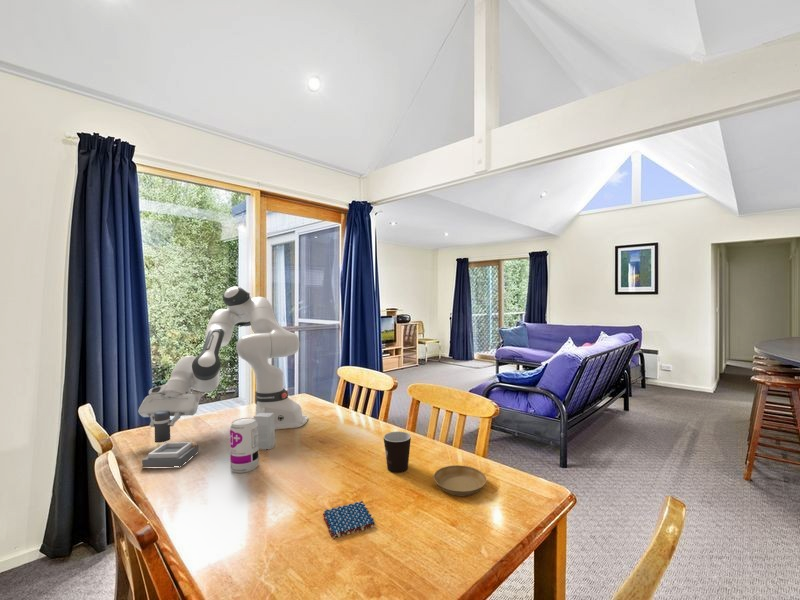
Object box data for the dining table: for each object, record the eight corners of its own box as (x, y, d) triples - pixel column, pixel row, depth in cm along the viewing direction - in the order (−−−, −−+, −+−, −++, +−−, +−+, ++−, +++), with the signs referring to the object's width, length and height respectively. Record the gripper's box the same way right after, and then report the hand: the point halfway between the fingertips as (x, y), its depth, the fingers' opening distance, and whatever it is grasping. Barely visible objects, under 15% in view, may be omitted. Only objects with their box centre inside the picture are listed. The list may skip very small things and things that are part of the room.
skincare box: (275, 445, 137) (274, 412, 136) (270, 450, 132) (269, 416, 132) (259, 444, 137) (258, 412, 137) (253, 449, 133) (253, 416, 133)
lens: (173, 437, 139) (172, 410, 139) (165, 442, 134) (164, 414, 134) (159, 438, 139) (159, 410, 139) (151, 443, 134) (150, 414, 134)
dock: (198, 453, 131) (197, 440, 130) (180, 467, 120) (180, 454, 119) (163, 454, 130) (162, 441, 130) (142, 469, 119) (142, 455, 119)
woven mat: (321, 517, 92) (321, 509, 92) (362, 506, 97) (362, 499, 97) (331, 542, 83) (330, 533, 83) (376, 529, 87) (376, 521, 87)
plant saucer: (476, 506, 96) (475, 496, 96) (424, 491, 103) (424, 482, 103) (493, 481, 108) (493, 472, 108) (446, 469, 116) (446, 461, 116)
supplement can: (239, 476, 113) (238, 427, 113) (225, 469, 118) (224, 422, 118) (263, 466, 119) (262, 420, 119) (249, 460, 124) (248, 415, 124)
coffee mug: (408, 476, 112) (408, 442, 111) (380, 473, 113) (380, 441, 113) (415, 459, 123) (414, 428, 123) (389, 457, 125) (389, 427, 125)
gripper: (205, 396, 148) (193, 428, 139) (153, 397, 148) (137, 431, 138) (199, 387, 144) (186, 420, 134) (145, 389, 143) (128, 422, 133)
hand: (161, 426), depth 136 cm, fingers closed on lens, 5 cm apart
